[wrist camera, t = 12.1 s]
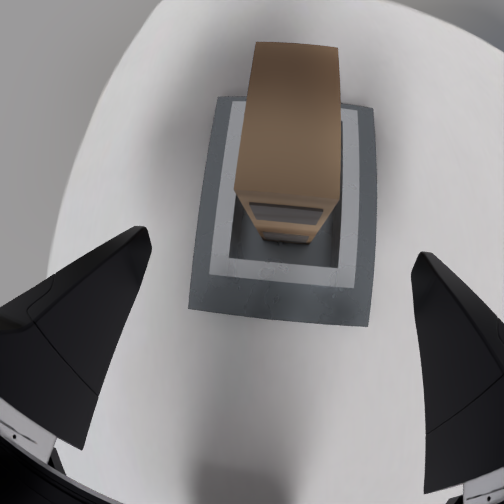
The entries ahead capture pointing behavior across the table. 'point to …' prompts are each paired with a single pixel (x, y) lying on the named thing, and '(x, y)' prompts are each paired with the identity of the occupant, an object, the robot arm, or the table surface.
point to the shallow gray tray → (281, 253)
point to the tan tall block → (291, 141)
